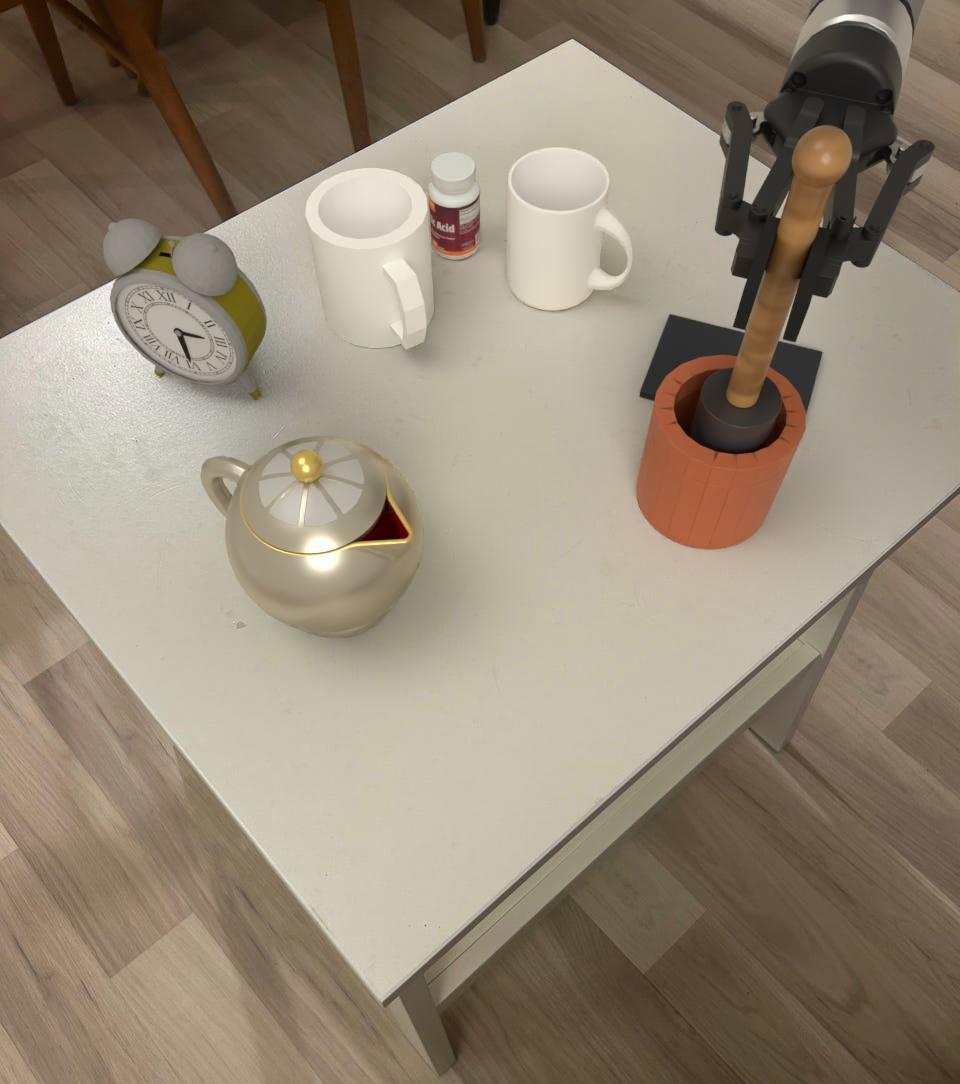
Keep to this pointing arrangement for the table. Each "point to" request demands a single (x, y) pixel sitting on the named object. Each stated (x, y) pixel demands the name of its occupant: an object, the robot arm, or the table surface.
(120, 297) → the alarm clock
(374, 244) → the mug
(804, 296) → the robot arm
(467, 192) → the pill bottle
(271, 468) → the teapot
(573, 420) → the table surface
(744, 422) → the brush
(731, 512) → the jar
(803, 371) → the mat
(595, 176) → the mug
